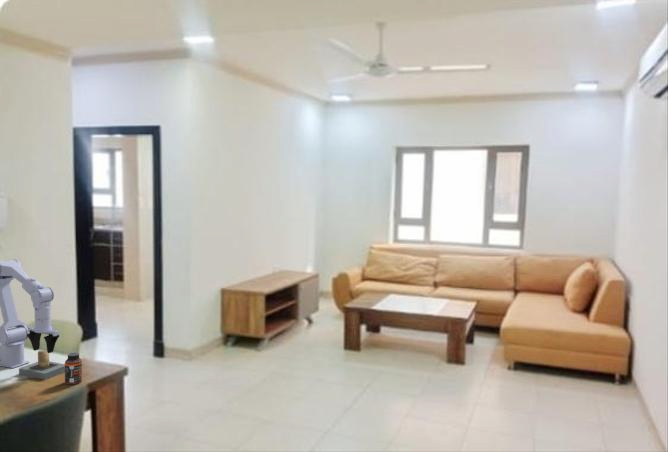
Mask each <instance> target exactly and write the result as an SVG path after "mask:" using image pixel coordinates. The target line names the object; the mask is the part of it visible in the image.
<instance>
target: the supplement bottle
mask: <svg viewBox="0 0 668 452" xmlns="http://www.w3.org/2000/svg"><path fill="white" fill-rule="evenodd" d="M64 364H65V372H64V383H65V385H69V386H71V385H72V386H73V385H77V384H81V383H82V380H83V361H82V358H80V353H78V352H70V353H68V354H67V359H66V360H65V362H64Z"/></svg>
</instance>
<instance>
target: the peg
mask: <svg viewBox="0 0 668 452" xmlns="http://www.w3.org/2000/svg"><path fill="white" fill-rule="evenodd" d="M49 361H50V353H48V352H47V349H45V350H39V351H37V362H38V368H40V369H45V368H47V367H49Z"/></svg>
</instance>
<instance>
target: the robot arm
mask: <svg viewBox="0 0 668 452" xmlns="http://www.w3.org/2000/svg"><path fill="white" fill-rule="evenodd" d="M14 279H15V280H16V281H18V282H19V283H20V284H21V288H22V289H23V290H24V291H25V292H26V293H27V294H28V295H29V296H30V300H31V302H32V307H33V308H34V326H33V325H32V326H31V325H30V326H26V323H25V321H22V320H21V319H19V317H18V314H17V310H16V305H15V301H14V297H13V292H12V288H11V282H12V281H13V280H14ZM54 298H55V293H54V291H53V289H52V288H51V287H49V286H44V285H43V284H42V283H41V282H39V280H37V278H35V277H30V276H29V275H28V274H27V273H26V272H25V270H23V268H22V263H21V262H20V261H19V260H18V259H16V258H15V259H10V260H1V261H0V311H1V316H2V320H3V323H2V324H1V325H0V367H5V368H9V369H15V368H17V367H18V368H19V366H23V365H26V364H28V363H29V364H30V361H29V360H25V343H26V340H27V339H29V341H30V343H31V345H32V349H33V351H35V352H36V351H38V350H40V349H41V348H40V347H41V337H42V335H43V334H44V335H45V336H43V339H44V340H45V344H46V350H47V352H48V353H49V354H51V353H53V352H54V350H55V346H56V343H57V341H58V339H59V338H60V333H59V332H60V331H59V330H57V329H55V328H54V327H53V326H52V316H51V315H52V310H51V309H52V306H51V303H52V301H53V300H54Z"/></svg>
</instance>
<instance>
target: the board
mask: <svg viewBox="0 0 668 452" xmlns="http://www.w3.org/2000/svg"><path fill="white" fill-rule="evenodd" d="M63 373H64V374H65V363H59V362H55V361H50V360H49V367H47V368H45V369H40V368H38V361H36V362H33V363H29V364H28V365H25V366H22V367H18V374H19V376H25V377H30V378H33V379H39V380H45V381H47V380H48V379H51V378H53V377H56V376H59V375H61V374H63Z"/></svg>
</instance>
